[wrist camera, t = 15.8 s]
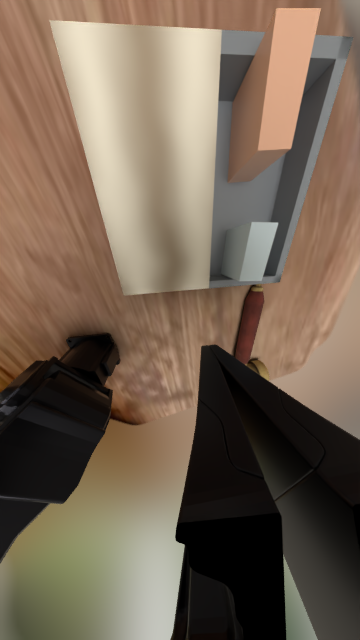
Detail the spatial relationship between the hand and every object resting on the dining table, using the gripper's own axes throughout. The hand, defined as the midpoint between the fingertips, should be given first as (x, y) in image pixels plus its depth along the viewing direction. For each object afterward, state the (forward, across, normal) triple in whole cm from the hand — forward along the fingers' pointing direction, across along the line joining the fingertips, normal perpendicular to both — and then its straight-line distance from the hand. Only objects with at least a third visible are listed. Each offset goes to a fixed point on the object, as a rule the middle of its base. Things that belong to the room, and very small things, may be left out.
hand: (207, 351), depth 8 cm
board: (+13, +2, -9) cm, 16 cm away
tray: (+13, -8, -9) cm, 18 cm away
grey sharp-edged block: (+10, -6, -4) cm, 12 cm away
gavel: (+14, -11, +10) cm, 20 cm away
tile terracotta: (+10, -5, -14) cm, 18 cm away
